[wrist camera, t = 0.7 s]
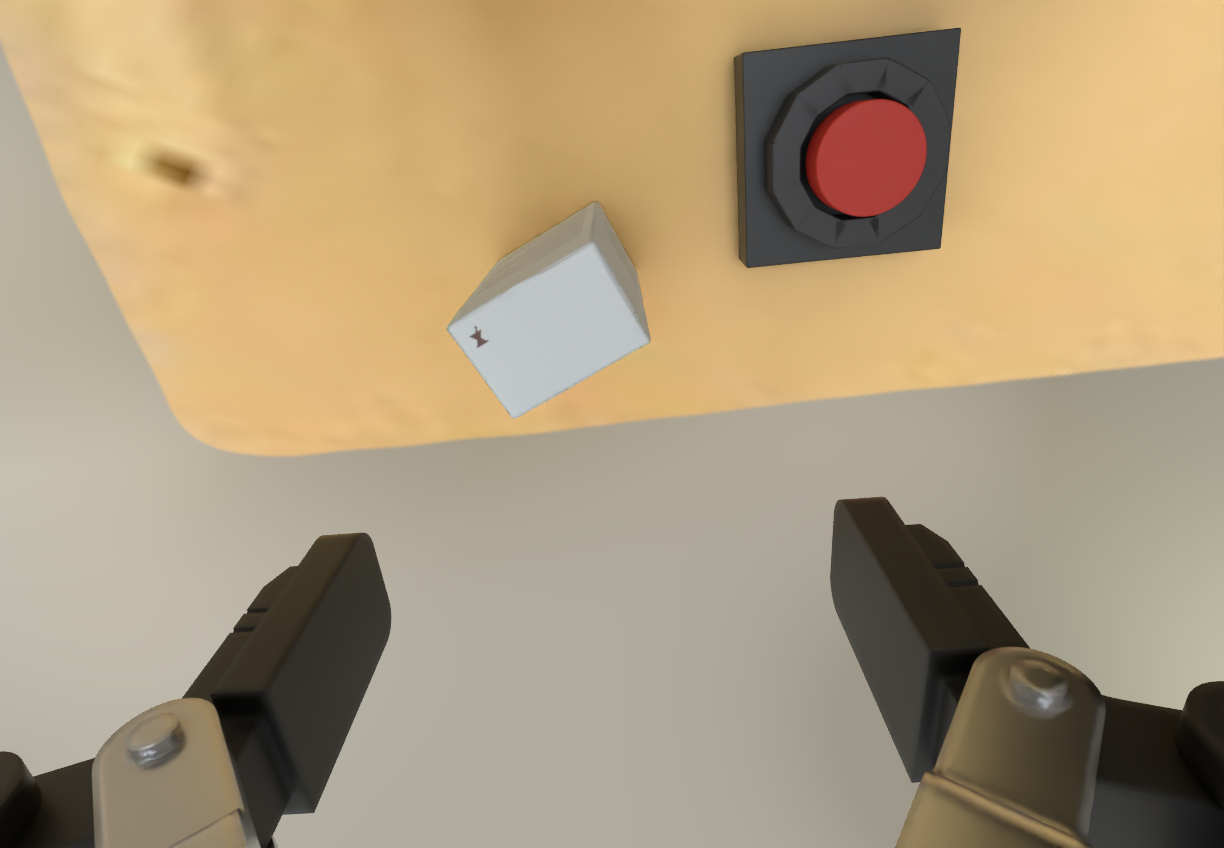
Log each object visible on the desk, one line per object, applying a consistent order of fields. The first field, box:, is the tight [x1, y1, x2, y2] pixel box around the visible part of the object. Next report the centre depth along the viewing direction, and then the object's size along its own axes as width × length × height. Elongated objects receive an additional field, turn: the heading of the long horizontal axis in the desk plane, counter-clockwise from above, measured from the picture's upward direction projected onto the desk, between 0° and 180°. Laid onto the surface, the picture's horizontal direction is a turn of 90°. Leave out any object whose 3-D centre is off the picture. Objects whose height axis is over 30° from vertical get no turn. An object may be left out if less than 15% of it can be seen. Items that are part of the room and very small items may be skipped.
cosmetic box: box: [447, 201, 650, 418], centre depth 29 cm, size 6×4×12 cm
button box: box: [734, 28, 961, 268], centre depth 30 cm, size 9×9×4 cm
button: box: [805, 99, 927, 217], centre depth 28 cm, size 4×4×2 cm
